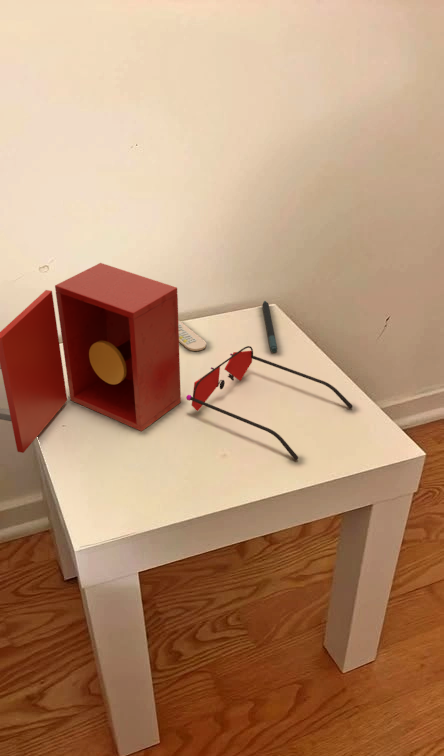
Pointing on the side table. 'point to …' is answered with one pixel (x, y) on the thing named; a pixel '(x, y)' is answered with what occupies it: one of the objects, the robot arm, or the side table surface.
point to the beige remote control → (190, 338)
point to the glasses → (237, 369)
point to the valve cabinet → (120, 344)
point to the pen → (269, 327)
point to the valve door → (32, 370)
